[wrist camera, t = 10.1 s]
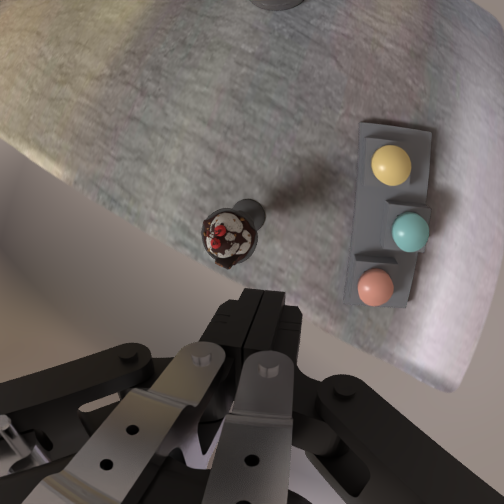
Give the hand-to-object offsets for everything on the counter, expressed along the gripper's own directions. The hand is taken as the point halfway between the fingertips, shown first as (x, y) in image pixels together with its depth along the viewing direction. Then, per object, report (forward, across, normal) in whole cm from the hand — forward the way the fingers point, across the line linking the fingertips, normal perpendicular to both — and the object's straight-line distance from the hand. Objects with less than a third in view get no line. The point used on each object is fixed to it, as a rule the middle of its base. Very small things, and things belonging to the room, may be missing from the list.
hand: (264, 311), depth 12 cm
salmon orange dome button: (+31, -10, +12) cm, 35 cm away
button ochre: (+31, -10, -4) cm, 33 cm away
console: (+33, -12, +4) cm, 35 cm away
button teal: (+31, -14, +4) cm, 34 cm away
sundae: (+33, +8, +5) cm, 35 cm away
